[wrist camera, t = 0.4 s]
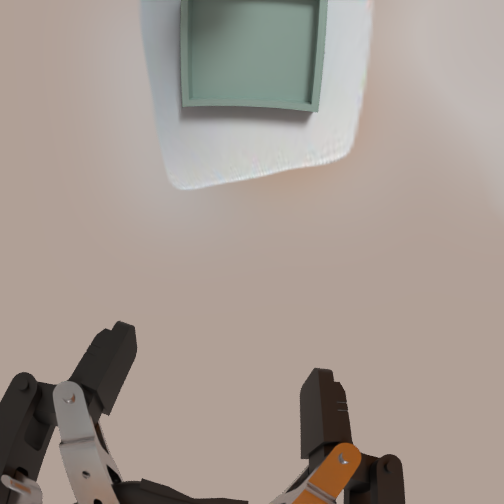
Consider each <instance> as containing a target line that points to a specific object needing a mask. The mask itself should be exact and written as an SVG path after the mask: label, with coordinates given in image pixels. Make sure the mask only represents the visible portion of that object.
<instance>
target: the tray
mask: <svg viewBox="0 0 504 504" xmlns="http://www.w3.org/2000/svg"><path fill="white" fill-rule="evenodd" d="M327 4H328V0H181V17H180V53H181V88H182V107H190V106H252V107H270V108H283V109H294V110H303V111H311V112H318V108H319V99H320V90H321V80H322V70H323V60H324V48H325V35H326V21H327Z"/></svg>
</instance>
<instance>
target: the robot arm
mask: <svg viewBox="0 0 504 504" xmlns="http://www.w3.org/2000/svg"><path fill="white" fill-rule="evenodd" d="M136 353H137V342H136V334H135V327H134V326H133V325H129V324H127V323H124V322H121V321H118V322H117V323H116V324H115V325H114V327H113V329H112V330H108V329H104V330H103V331H101V332H100V333H98V334H97V335H96V337H95V338H94V340H93V341H92V343H91V345H90V346H89V347H88V349H87V352H86V353H85V354H84V355H83V357H82V359H81V361H80V362H79V364H78V365H77V367H76V369H75V370H74V372H73V374H72V376H71V377H70V378H69V380H67V381H64V382H61V383H59V384H58V385H53V384H47V383H42V382H37V381H36V380H35V378H34V377H33V376H32V375H31V374H29V373H26V372H22V373H19V374H17V375H16V376H15V377H14V378H13V380H12V382H11V383H10V385H9V387H8V389H7V391H6V392H5V395H4V397H3V398H2V400H1V402H0V504H42V491H41V489H40V487H39V485H38V484H37V483H36V481H37V477H38V474H39V471H40V468H41V465H42V462H43V459H44V456H45V453H46V450H47V447H48V445H49V442H50V439H51V436H52V434H53V431H54V429H55V426H58V427H59V431H60V436H61V443H60V444H59V448H60V453H61V456H62V459H63V463H64V466H65V470H66V473H67V475H68V478H69V482H70V484H71V487H72V490H73V492H74V495H75V497H76V500H77V503H74V504H248V501H242V500H233V499H227V498H210V499H194V498H190V497H189V496H186V495H184V494H182V493H180V492H178V491H176V490H174V489H172V488H170V487H168V486H165V485H161V484H158V483H154V482H151V481H148V480H145V479H142V480H141V481H126V482H124V481H123V479H122V477H121V475H120V472H119V470H118V468H117V466H116V464H115V462H114V460H113V458H112V456H111V454H110V451H109V449H108V446H107V443H106V440H105V438H104V434H103V431H102V428H101V426H100V422H99V418H100V416H101V414H102V413H104V414H106V415H108V416H109V415H110V412H111V410H112V408H113V405H114V403H115V401H116V399H117V396H118V394H119V392H120V389H121V387H122V385H123V383H124V381H125V379H126V377H127V374H128V372H129V370H130V368H131V366H132V364H133V362H134V359H135V357H136ZM346 402H347V400H346V394H345V391H344V389H343V387H342V385H341V384H340V382H334V378H333V372H332V370H329V369H320V368H314V369H313V371H312V372H311V374H310V375H309V377H308V378H307V380H306V381H305V383H304V384H303V386H302V388H301V392H300V418H301V419H300V421H301V459H309V465H308V466H307V467H306V468H305V469H304V470H303V471H302V473H301V474H300V475H299V476H298V477H297V478H296V479H295V480H294V482H293V483H292V484H291V485H290V486H289V487H288V488H287V489H286V490H285V491H284V492H283V493H282V494H281V495H279V496H278V497H276V498H275V499H274V500H273V501H272V502H271V503H269V504H336V501H335V500H336V498H337V497H338V495H339V494H340V492H341V491H342V490H343V489H344V504H405V494H404V493H405V492H404V479H403V469H402V463H401V461H400V459H399V458H398V457H397V456H395V455H391V454H387V455H384V456H383V457H381V458H378V457H374V456H370V455H366V454H363V453H361V452H360V451H359V449H358V448H357V447H356V446H354V445H353V442H352V437H351V429H350V421H349V415H348V412H347V411H348V407H347V404H346Z"/></svg>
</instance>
